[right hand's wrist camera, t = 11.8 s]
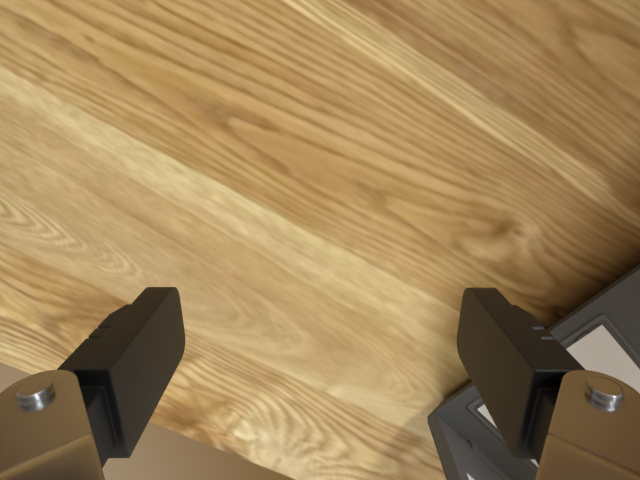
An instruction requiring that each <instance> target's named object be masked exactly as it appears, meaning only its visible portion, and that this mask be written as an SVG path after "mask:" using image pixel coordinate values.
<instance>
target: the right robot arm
mask: <svg viewBox="0 0 640 480" xmlns="http://www.w3.org/2000/svg"><path fill="white" fill-rule="evenodd" d="M184 348H185V332H184V325H183V317H182V310H181V303H180V296H179V292H178V290H177V288H175V287H147V288H146V289H145V290H144V291H143V292H142V293H141V294H140V295H139V296H138V297H137V299H136V300H135V301H134V302H133V303H132V304H131V305H125V306H123V307H122V308H120V309H118V310H116V311H115V312H113V313H111V314H110V315H109V316H108V317H107V318H106V319H105V320H104V321H103V322H102V323H101V324H100V325H99V326H98V329H95V330H94V331H93V332H92V333H91V334H90V335H89V339H86V340H85V341H84V342H83V343H82V344H81V345H80V346H79V347H78V348H77V349H76V350H75V351H74V352H73V353H72V354H71V355H70V356H69V357H68V358H67V359H66V360H65V361H64V363H63V364H62V365H61V366H60V367H59V368H58V369H57V370H50V371H45V372H40V373H37V374H34V375H31V376H28V377H26V378H24V379H22V380H19V381H18V382H16V383H14V384H12V385H11V386H9V387H8V388H6V389H5V390H4V391H3V392H1V393H0V480H105V478H104V474H103V470H102V468H103V466H104V465H105V463H106V461H107V460H108V458H130V456H131V454H132V452H133V450H134V448H135V446H136V444H137V442H138V440H139V439H140V437H141V435H142V433H143V431H144V429H145V427H146V425H147V423H148V422H149V420H150V418H151V416H152V414H153V412H154V410H155V408H156V406H157V404H158V402H159V401H160V399H161V397H162V395H163V393H164V391H165V389H166V387H167V385H168V383H169V382H170V380H171V378H172V376H173V374H174V372H175V370H176V368H177V366H178V364H179V362H180V361H181V359H182V356H183V353H184ZM457 348H458V353H459V357H460V359H461V361H462V363H463V365H464V367H465V369H466V371H467V372H468V374H469V376H470V378H471V380H472V382H473V384H474V386H475V387H476V389H477V391H478V393H479V395H480V397H481V399H482V401H483V403H484V404H485V406H486V408H487V410H488V412H489V414H490V416H491V418H492V419H493V421H494V423H495V425H496V427H497V429H498V431H499V433H500V434H501V436H502V438H503V440H504V442H505V444H506V446H507V448H508V450H509V451H510V453H511V455H512V457H513V459H514V460H536V462H537V464H538V466H539V467H538V470H537V474H536V478H535V480H640V393H639V392H637V391H636V390H635V389H634V388H632V387H631V386H629V385H628V384H626V383H624V382H622V381H621V380H619V379H616V378H614V377H612V376H609V375H606V374H603V373H600V372H595V371H590V370H586V369H585V368H584V367H583V366H582V365H581V364H580V363H579V362H578V361H577V360H576V359H575V358H574V357H573V356H572V355H571V354H570V353H569V352H568V351H567V350H566V349H565V348H564V347H563V346H562V345H561V344H560V343H559V342H558V340H555V339H554V336H553V335H552V334H551V333H550V332H549V331H548V330H545V327H544V326H543V325H542V324H541V323H540V322H539V321H538V320H537V319H536V318H535V317H534V316H533V315H532V314H530V313H528V312H527V311H525V310H523V309H521V308H520V307H518V306H516V305H511V304H510V303H509V302H508V301H507V300H506V299H505V298H504V296H503V295H502V294H501V293H500V292H499V291H498V290H497V289H496V288H466V289H465V291H464V293H463V298H462V305H461V312H460V319H459V326H458V333H457Z"/></svg>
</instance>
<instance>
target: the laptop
mask: <svg viewBox="0 0 640 480" xmlns="http://www.w3.org/2000/svg"><path fill="white" fill-rule="evenodd" d="M546 330H548V331H549V332H550V333H551V334H552V335H553V336H554V339H555V340H558V342H559V343H560V344H561V345H562V346H563V347H564V348H565V349H566V350H567V351H568V352H569V353H570V354H571V355H572V356H573V357H574V358H575V359H576V360H577V361H578V362H579V363H580V364H581V365H582V366H583V367H584V368H585V369H586V370H590V371H595V372H600V373H603V374H606V375H609V376H612V377H614V378H616V379H619V380H621V381H622V382H624V383H626V384H628V385H629V386H631V387H632V388H634V389H635V390H636V391H637V392H639V393H640V264H638V265H637V266H636V267H634V268H633V269H631V270H630V271H628V272H627V273H626V274H624V275H623V276H621V277H620V278H618V279H617V280H616V281H614V282H613V283H611V284H610V285H608V286H607V287H606V288H604V289H603V290H601V291H600V292H598V293H597V294H596V295H594V296H593V297H591V298H590V299H588V300H587V301H586V302H584V303H583V304H581V305H580V306H578V307H577V308H576V309H574V310H573V311H571V312H570V313H568V314H567V315H566V316H564V317H563V318H561V319H560V320H558V321H557V322H556V323H554V324H553V325H551V326H550V327H548V328H547V329H546ZM427 418H428V424H429V427H430V430H431V433H432V436H433V439H434V442H435V445H436V448H437V452H438V455H439V458H440V461H441V464H442V467H443V470H444V473H445V476H446V479H447V480H535V478H536V474H537V470H538V467H539V466H538V464H537V462H536V460H514V459H513V457H512V455H511V453H510V451H509V450H508V448H507V446H506V444H505V442H504V440H503V438H502V436H501V434H500V433H499V431H498V429H497V427H496V425H495V423H494V421H493V419H492V418H491V416H490V414H489V412H488V410H487V408H486V406H485V404H484V403H483V401H482V399H481V397H480V395H479V393H478V391H477V389H476V387H475V386H474V384H473V382H472V381H471V382H470V383H469V384H467V385H466V386H464V387H463V388H461V389H460V390H459V391H457V392H456V393H454V394H453V395H451V396H450V397H449V398H447V399H446V400H444V401H443V402H441V403H440V404H439V405H438V406H437V407H436V409H435V410H434V411H433V412H432V413H431V414H430V415H429V416H428V417H427Z"/></svg>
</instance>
